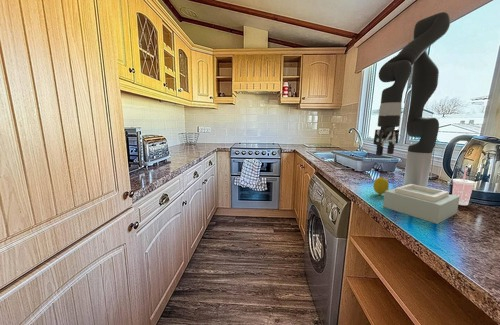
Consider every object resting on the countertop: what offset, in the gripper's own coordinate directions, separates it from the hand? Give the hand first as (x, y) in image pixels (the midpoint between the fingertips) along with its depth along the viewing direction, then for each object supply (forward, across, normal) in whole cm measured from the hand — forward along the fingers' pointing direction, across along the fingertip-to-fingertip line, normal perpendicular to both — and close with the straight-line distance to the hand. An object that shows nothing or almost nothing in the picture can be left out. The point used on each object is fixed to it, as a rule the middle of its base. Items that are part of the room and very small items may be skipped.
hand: (384, 154), depth 89 cm
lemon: (+18, 0, 0) cm, 18 cm away
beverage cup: (+18, -17, +21) cm, 32 cm away
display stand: (+18, +5, +16) cm, 24 cm away
